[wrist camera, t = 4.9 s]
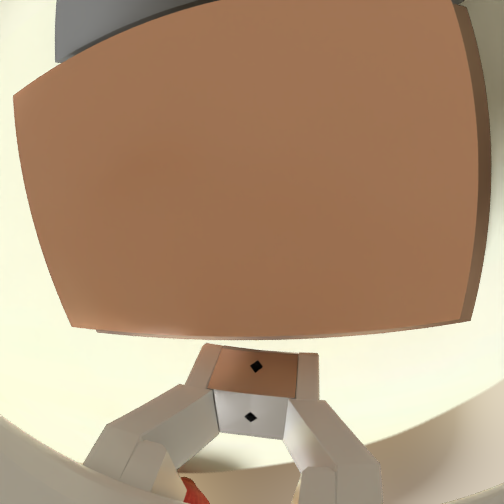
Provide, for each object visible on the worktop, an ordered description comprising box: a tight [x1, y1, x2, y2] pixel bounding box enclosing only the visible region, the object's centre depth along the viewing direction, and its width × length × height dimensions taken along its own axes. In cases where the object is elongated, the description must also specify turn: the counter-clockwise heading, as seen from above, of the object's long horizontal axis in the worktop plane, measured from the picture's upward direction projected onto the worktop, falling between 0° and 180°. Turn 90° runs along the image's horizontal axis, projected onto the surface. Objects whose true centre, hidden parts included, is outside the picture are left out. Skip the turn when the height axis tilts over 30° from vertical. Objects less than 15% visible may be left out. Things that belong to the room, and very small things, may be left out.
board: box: [96, 4, 491, 340], centre depth 8 cm, size 14×10×2 cm
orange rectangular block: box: [13, 0, 478, 337], centre depth 6 cm, size 9×6×3 cm, turn 98°
